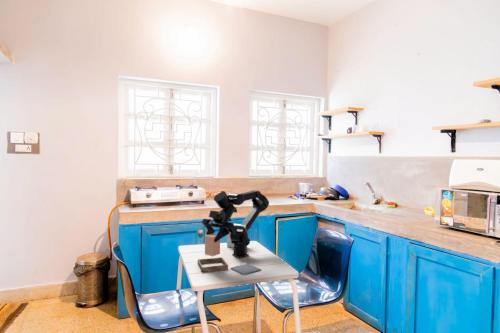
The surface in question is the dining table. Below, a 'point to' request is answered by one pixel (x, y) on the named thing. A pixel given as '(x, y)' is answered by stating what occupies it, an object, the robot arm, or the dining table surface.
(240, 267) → the slate pad
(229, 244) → the supplement box
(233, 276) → the dining table surface
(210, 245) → the terracotta block
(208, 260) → the walnut well
